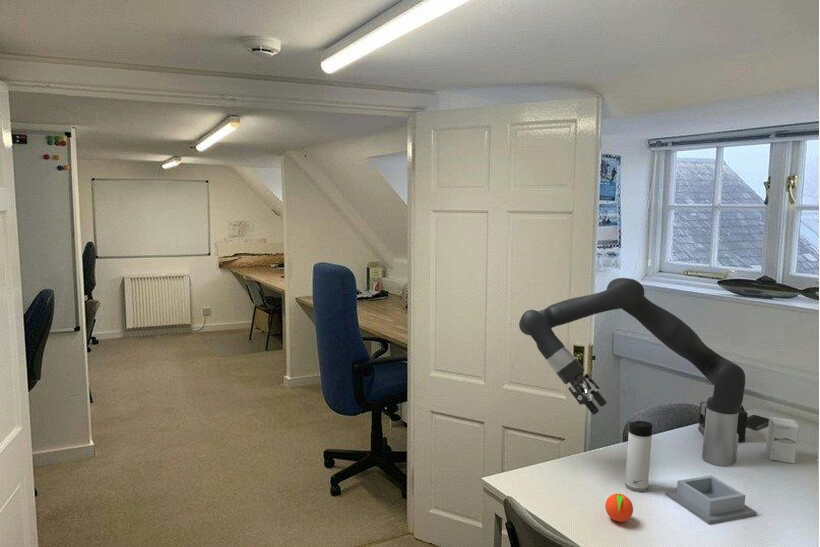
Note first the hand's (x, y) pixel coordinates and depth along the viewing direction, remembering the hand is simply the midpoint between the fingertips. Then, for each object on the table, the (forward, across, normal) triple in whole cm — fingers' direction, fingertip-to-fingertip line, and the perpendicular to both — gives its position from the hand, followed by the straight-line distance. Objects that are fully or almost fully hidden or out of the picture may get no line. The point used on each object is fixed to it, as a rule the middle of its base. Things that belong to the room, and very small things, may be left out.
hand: (600, 408), depth 179 cm
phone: (+43, +79, -12) cm, 91 cm away
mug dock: (+37, +1, -7) cm, 38 cm away
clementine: (+24, -22, +7) cm, 33 cm away
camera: (+35, +58, -5) cm, 68 cm away
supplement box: (+48, +49, -19) cm, 71 cm away
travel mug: (+24, 0, +7) cm, 25 cm away
